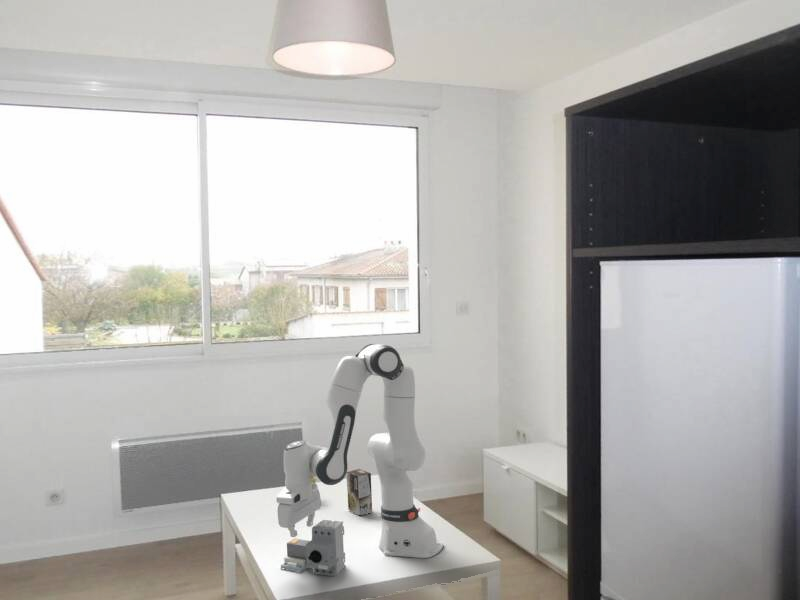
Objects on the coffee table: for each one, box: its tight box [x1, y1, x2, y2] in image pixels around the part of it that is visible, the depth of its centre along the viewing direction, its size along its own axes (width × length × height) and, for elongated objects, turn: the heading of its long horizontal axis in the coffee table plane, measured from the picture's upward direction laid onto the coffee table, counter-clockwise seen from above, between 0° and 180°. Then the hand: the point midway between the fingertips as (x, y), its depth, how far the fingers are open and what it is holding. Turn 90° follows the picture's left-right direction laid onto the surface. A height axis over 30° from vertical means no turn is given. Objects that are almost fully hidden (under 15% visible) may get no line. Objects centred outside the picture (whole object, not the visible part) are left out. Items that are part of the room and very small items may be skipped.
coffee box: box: [346, 468, 373, 516], centre depth 295 cm, size 9×6×16 cm
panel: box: [280, 555, 308, 573], centre depth 246 cm, size 8×14×3 cm, turn 153°
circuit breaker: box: [306, 519, 346, 577], centre depth 236 cm, size 8×14×15 cm, turn 159°
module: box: [286, 537, 311, 564], centre depth 245 cm, size 8×4×6 cm, turn 63°
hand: (302, 531), depth 245 cm, fingers open, 8 cm apart
